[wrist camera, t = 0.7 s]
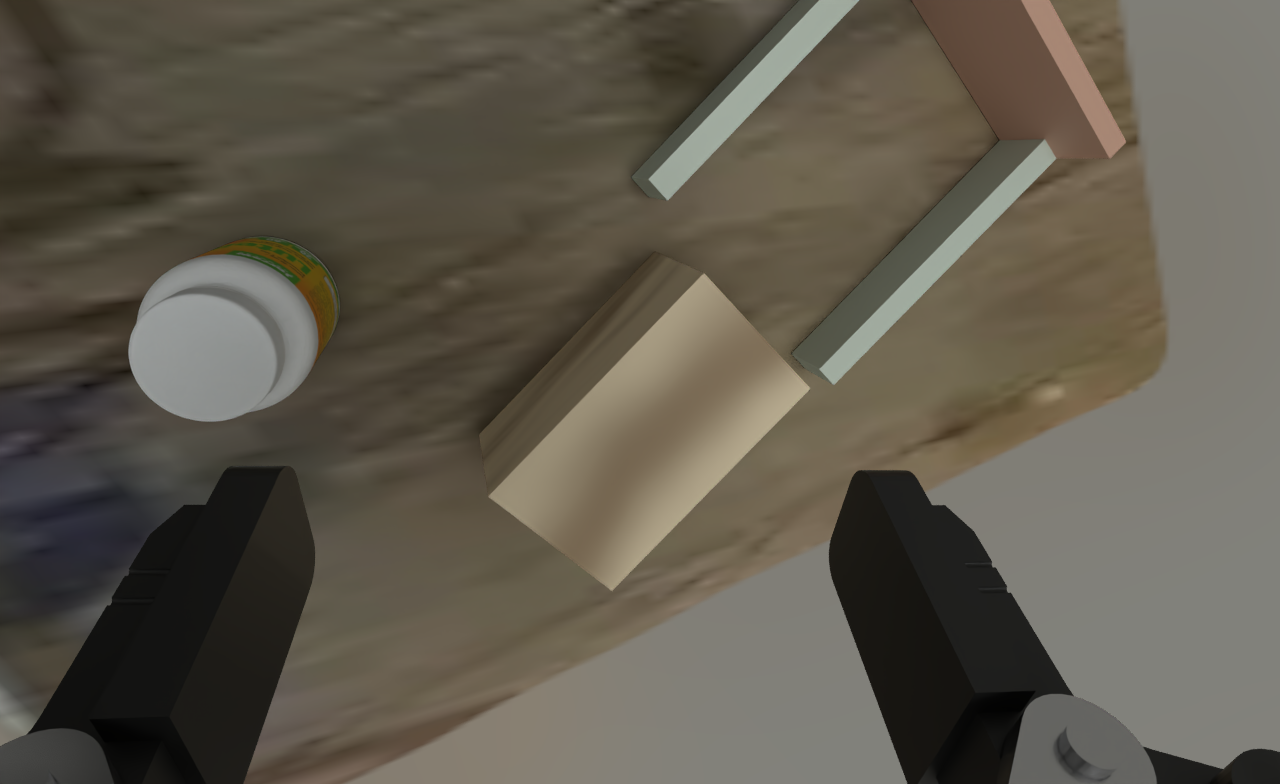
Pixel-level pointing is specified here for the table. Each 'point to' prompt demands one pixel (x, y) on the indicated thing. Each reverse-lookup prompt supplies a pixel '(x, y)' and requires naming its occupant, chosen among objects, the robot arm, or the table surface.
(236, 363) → the supplement bottle
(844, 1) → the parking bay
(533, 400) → the oak block
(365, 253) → the table surface
